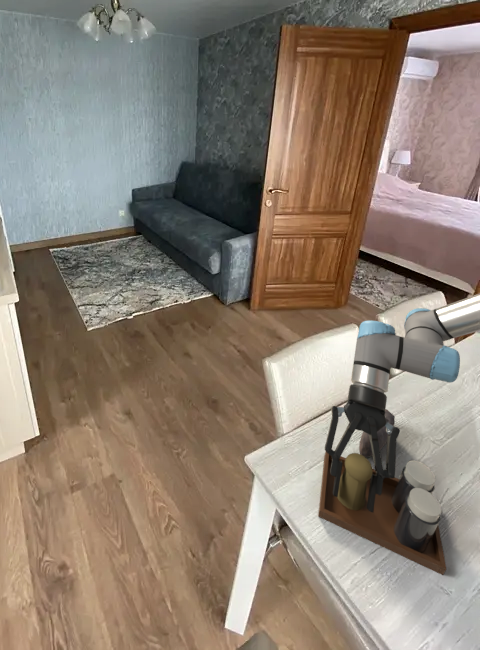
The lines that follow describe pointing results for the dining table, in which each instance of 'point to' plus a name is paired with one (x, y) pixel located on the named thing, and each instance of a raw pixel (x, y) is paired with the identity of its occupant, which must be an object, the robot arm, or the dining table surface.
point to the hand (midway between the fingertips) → (352, 502)
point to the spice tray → (376, 520)
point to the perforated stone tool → (382, 437)
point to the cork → (354, 481)
